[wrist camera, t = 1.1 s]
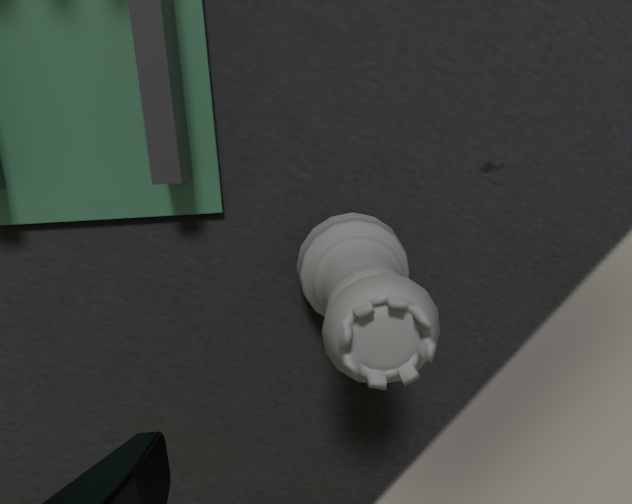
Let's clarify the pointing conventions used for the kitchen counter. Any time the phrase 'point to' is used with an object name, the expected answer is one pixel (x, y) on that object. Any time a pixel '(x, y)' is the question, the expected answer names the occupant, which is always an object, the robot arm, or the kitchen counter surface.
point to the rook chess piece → (367, 300)
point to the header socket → (105, 111)
